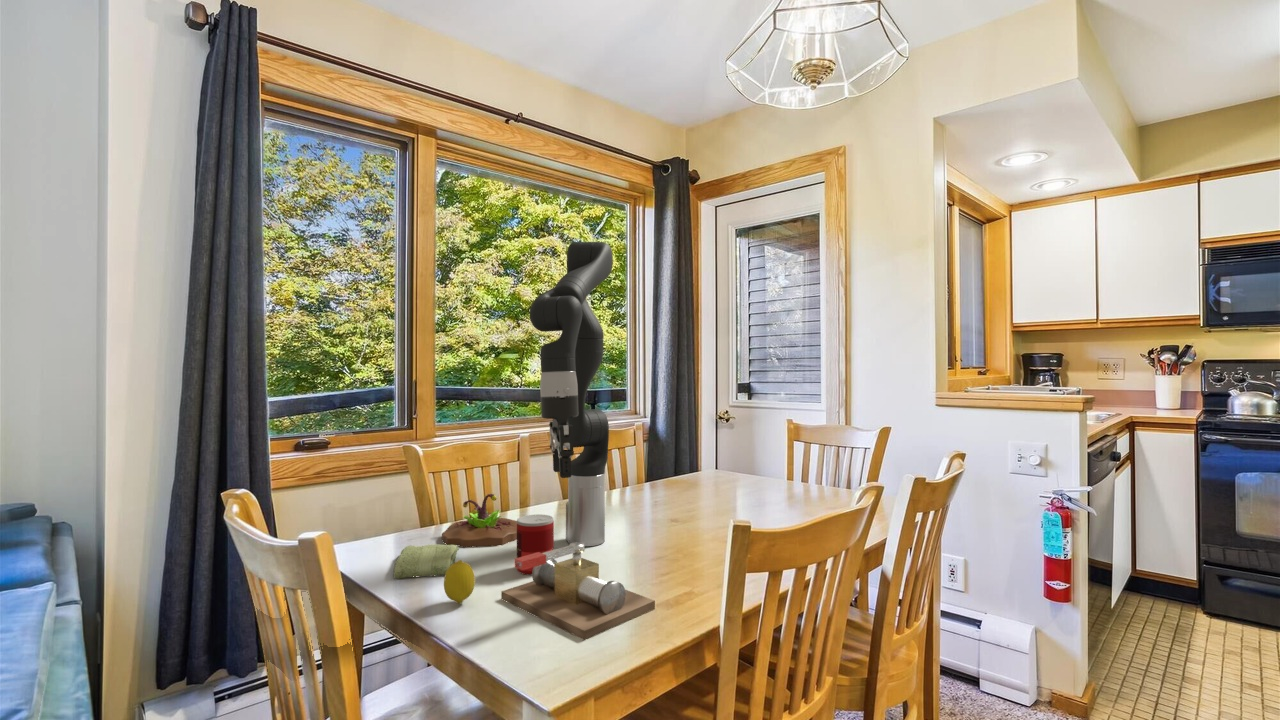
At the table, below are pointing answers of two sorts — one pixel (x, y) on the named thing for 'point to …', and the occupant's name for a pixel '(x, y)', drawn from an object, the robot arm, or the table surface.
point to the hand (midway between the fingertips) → (562, 474)
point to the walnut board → (574, 609)
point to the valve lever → (547, 556)
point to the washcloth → (425, 560)
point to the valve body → (580, 583)
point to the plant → (481, 528)
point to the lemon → (459, 581)
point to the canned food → (534, 536)
